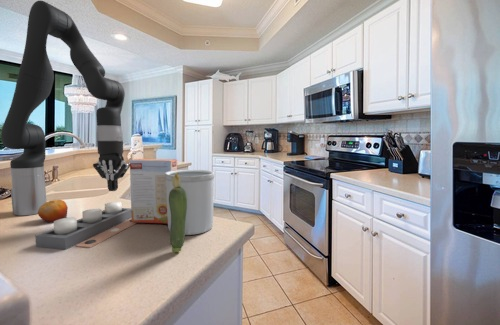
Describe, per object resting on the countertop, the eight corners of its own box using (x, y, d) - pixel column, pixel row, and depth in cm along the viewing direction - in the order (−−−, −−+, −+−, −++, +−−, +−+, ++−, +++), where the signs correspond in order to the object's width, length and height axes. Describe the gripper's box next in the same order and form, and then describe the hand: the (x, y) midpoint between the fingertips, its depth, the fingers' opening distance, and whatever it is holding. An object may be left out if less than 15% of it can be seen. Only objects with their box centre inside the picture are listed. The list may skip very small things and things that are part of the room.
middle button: (78, 222, 74) (78, 212, 74) (92, 217, 79) (91, 208, 79) (93, 224, 73) (92, 213, 73) (105, 218, 78) (105, 209, 78)
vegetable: (172, 247, 64) (170, 170, 62) (189, 247, 64) (188, 170, 62) (168, 255, 59) (165, 173, 57) (186, 255, 60) (184, 172, 58)
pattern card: (75, 246, 64) (75, 245, 64) (132, 218, 87) (132, 217, 87) (90, 247, 63) (90, 246, 63) (143, 219, 86) (143, 218, 86)
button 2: (101, 214, 83) (101, 205, 83) (112, 209, 88) (112, 201, 87) (114, 214, 82) (114, 205, 82) (125, 210, 87) (124, 202, 87)
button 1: (49, 234, 65) (48, 222, 65) (66, 227, 70) (65, 217, 70) (65, 235, 64) (64, 224, 64) (81, 228, 69) (81, 218, 69)
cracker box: (179, 218, 86) (178, 158, 84) (171, 224, 80) (170, 160, 78) (140, 217, 87) (139, 158, 85) (130, 222, 81) (128, 159, 79)
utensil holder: (154, 231, 74) (154, 173, 72) (184, 216, 87) (184, 167, 86) (197, 239, 68) (198, 177, 67) (221, 223, 82) (222, 171, 81)
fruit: (79, 212, 89) (66, 196, 84) (60, 230, 83) (44, 213, 78) (63, 210, 91) (49, 194, 87) (43, 227, 85) (28, 211, 81)
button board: (36, 246, 64) (35, 235, 64) (111, 215, 90) (111, 207, 90) (65, 249, 62) (64, 238, 62) (134, 216, 89) (133, 208, 88)
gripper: (83, 139, 80) (87, 192, 82) (119, 139, 78) (122, 193, 79) (101, 139, 87) (104, 188, 89) (135, 139, 85) (137, 189, 87)
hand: (113, 190), depth 84 cm, fingers closed
